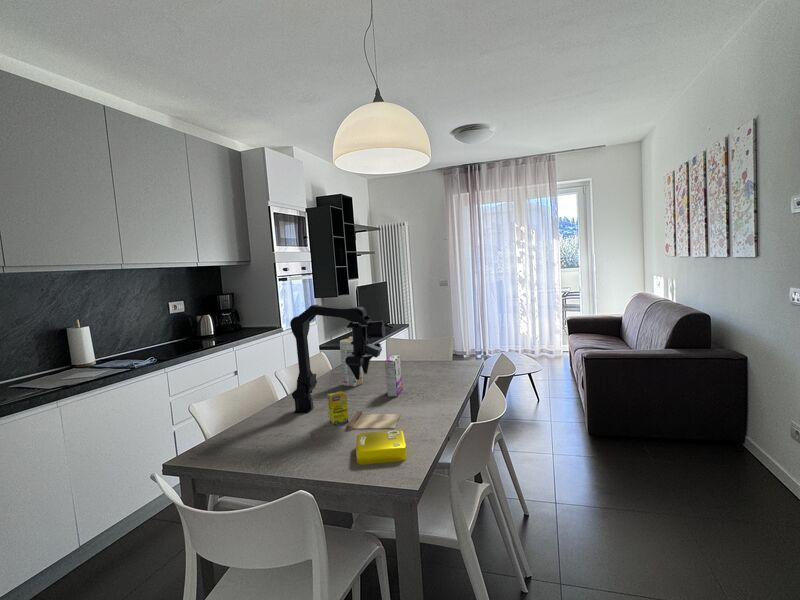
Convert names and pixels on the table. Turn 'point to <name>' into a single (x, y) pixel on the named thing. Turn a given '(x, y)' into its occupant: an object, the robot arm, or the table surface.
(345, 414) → the supplement box
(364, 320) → the robot arm
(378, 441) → the yellow flat block
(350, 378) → the juice carton
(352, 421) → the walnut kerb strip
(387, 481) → the table surface
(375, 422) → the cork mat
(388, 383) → the candy bar box
